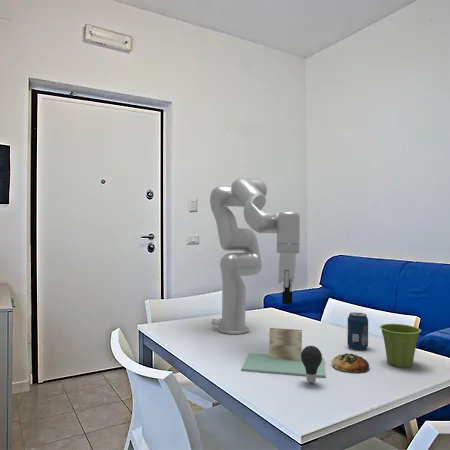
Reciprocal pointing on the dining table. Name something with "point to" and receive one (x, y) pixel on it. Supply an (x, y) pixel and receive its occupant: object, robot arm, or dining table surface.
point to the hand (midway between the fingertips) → (287, 303)
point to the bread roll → (350, 363)
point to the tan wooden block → (285, 344)
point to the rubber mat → (278, 365)
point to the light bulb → (311, 362)
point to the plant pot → (400, 343)
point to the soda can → (357, 331)
